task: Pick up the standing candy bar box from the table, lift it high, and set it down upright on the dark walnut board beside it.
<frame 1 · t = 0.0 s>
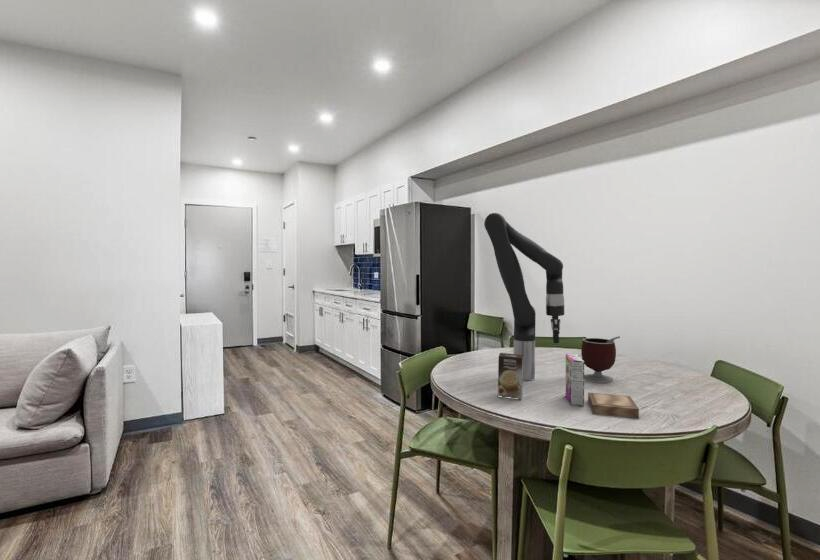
hand: (555, 341, 179), 17 cm above the table, tool pointing down, fingers open, 8 cm apart
coffee box: (510, 397, 158), on the table
candy bar box: (574, 401, 153), on the table
mate gourd: (599, 379, 181), on the table
walnut board: (611, 408, 145), on the table
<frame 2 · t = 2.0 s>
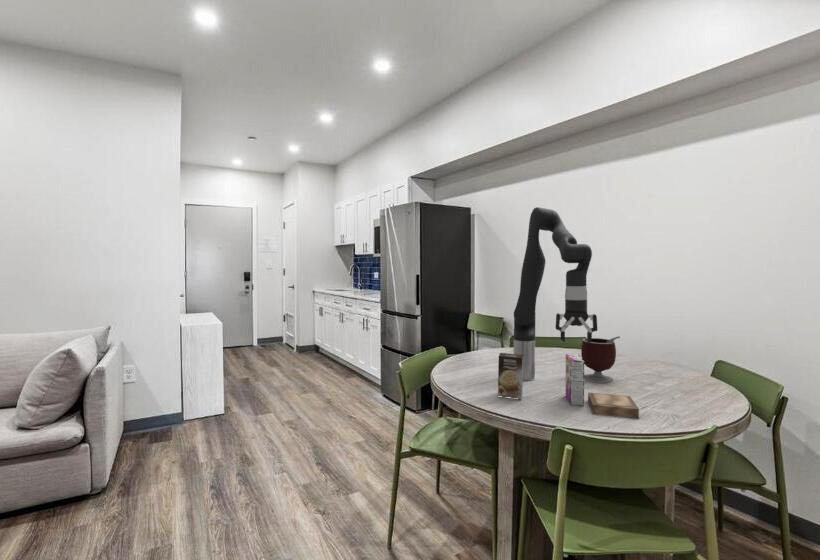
hand: (575, 341, 152), 22 cm above the table, tool pointing down, fingers open, 8 cm apart
nothing on the table moved.
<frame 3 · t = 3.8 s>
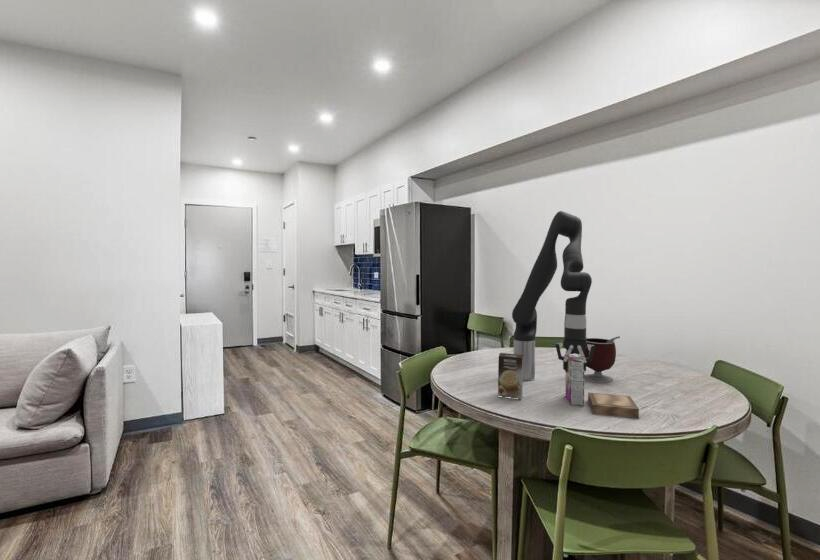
hand: (574, 371, 152), 11 cm above the table, tool pointing down, fingers closed on candy bar box, 5 cm apart
candy bar box: (574, 401, 153), on the table, touching gripper
everything else where it was.
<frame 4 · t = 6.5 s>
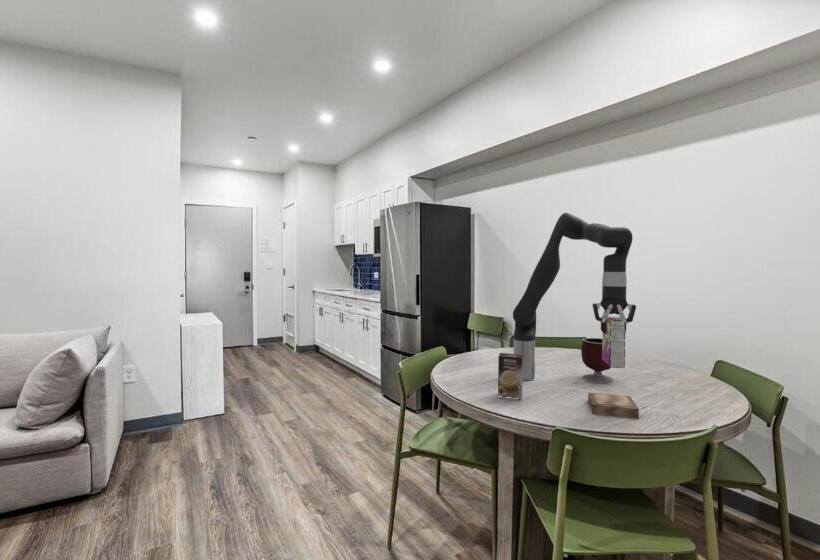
hand: (613, 333, 144), 27 cm above the table, tool pointing down, fingers closed on candy bar box, 5 cm apart
candy bar box: (612, 364, 144), point 16 cm above the table, touching gripper
everything else where it was.
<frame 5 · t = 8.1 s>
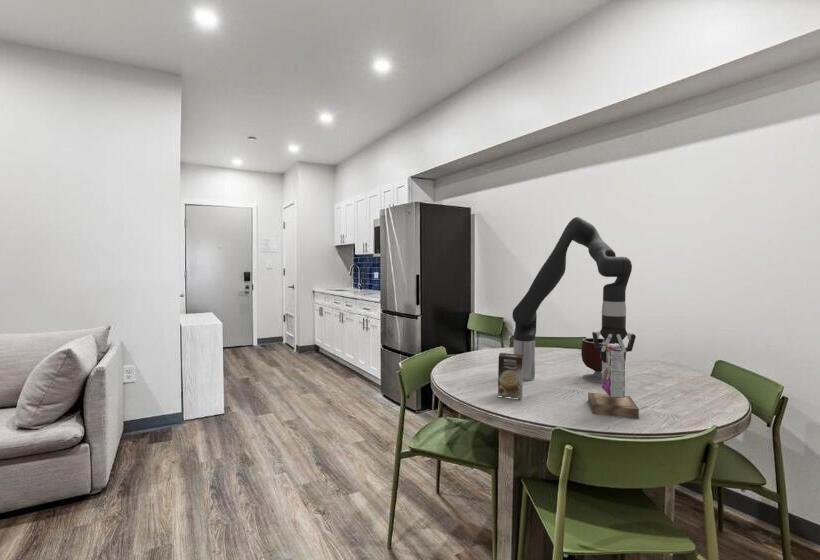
hand: (612, 362, 144), 16 cm above the table, tool pointing down, fingers closed on candy bar box, 5 cm apart
candy bar box: (612, 393, 144), point 5 cm above the table, touching gripper
everything else where it was.
when the fingers open (15 cm above the table, at t = 9.4 s): candy bar box stays where it is, resting on walnut board.
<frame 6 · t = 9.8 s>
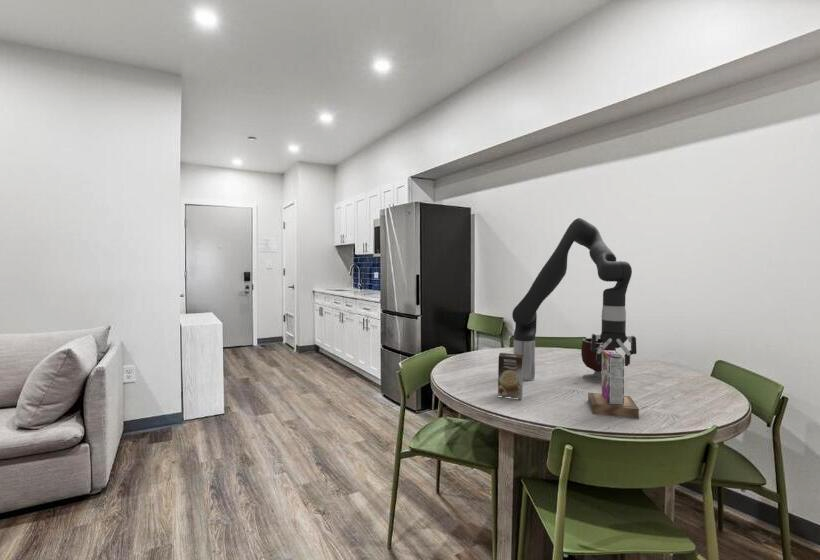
hand: (612, 364, 144), 16 cm above the table, tool pointing down, fingers open, 8 cm apart
candy bar box: (611, 400, 145), point 3 cm above the table, touching walnut board
everything else where it was.
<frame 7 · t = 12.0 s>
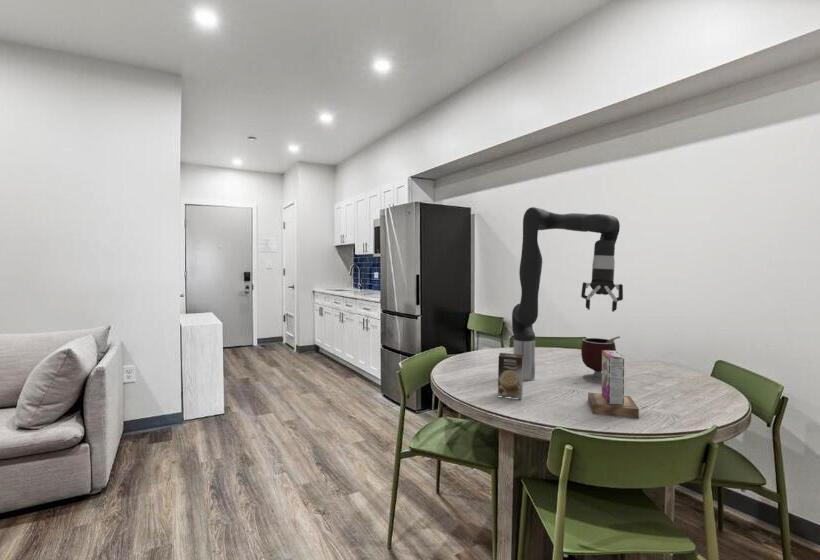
hand: (600, 310, 156), 33 cm above the table, tool pointing down, fingers open, 8 cm apart
nothing on the table moved.
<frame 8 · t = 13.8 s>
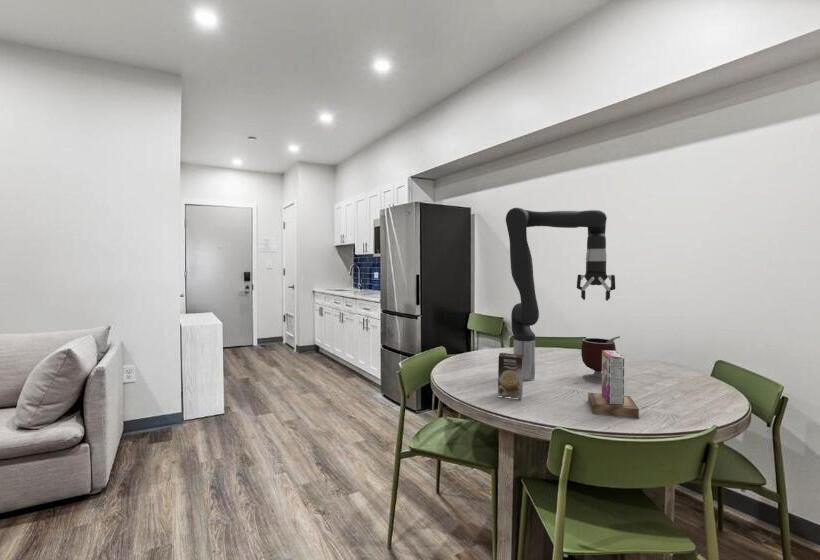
hand: (595, 300, 168), 36 cm above the table, tool pointing down, fingers open, 8 cm apart
nothing on the table moved.
at the end: candy bar box inside the target area on the walnut board (0.1 cm from its centre), point 3.0 cm above the walnut board's base; candy bar box tilted 0°; the gripper is holding nothing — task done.
